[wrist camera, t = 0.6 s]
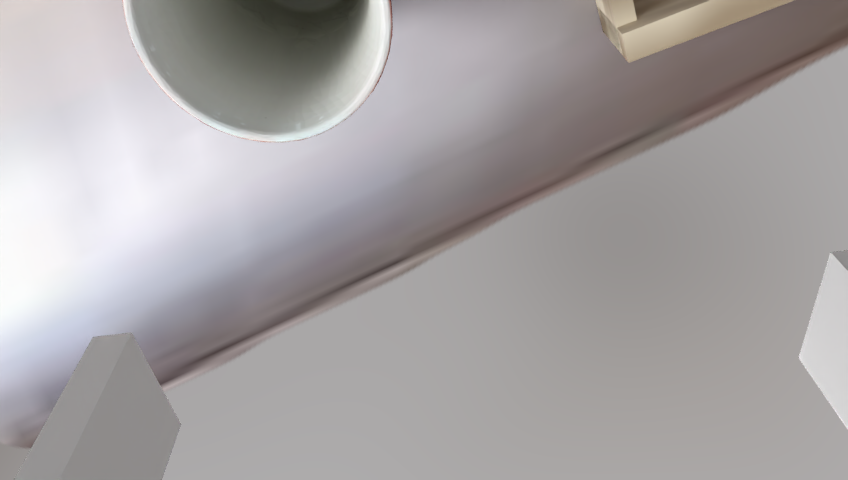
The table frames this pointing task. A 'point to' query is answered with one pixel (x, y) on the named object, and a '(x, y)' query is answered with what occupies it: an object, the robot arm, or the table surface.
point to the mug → (264, 60)
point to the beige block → (670, 21)
